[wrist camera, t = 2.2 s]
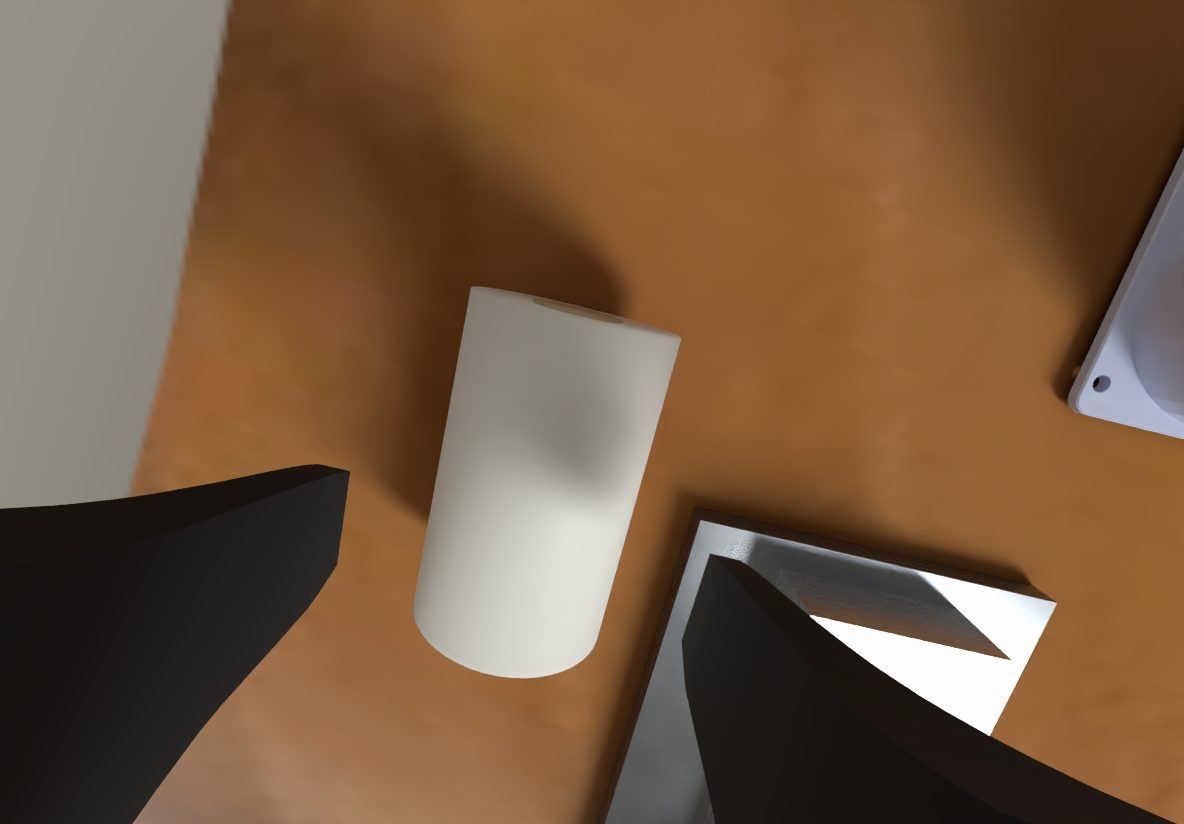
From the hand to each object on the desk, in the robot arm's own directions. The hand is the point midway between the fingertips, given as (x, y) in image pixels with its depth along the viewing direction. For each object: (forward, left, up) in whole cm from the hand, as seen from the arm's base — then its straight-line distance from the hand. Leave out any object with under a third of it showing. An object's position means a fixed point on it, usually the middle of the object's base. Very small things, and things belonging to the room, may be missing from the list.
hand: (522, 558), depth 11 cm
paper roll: (0, 0, -8) cm, 8 cm away
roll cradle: (+9, +11, -7) cm, 16 cm away
